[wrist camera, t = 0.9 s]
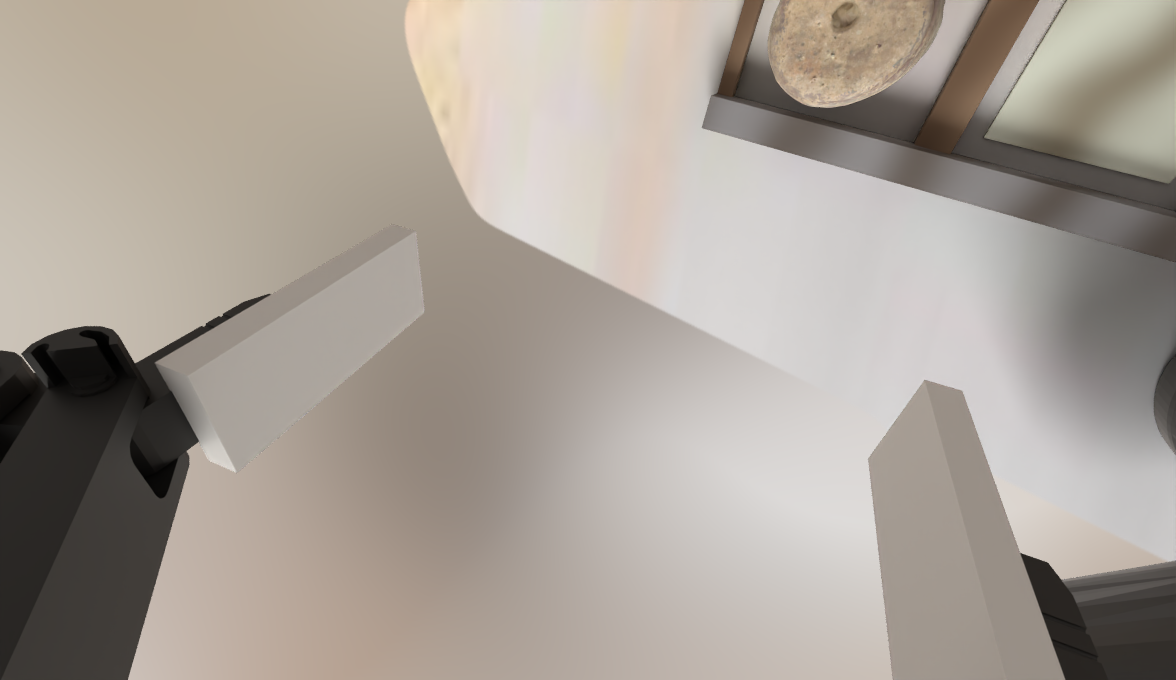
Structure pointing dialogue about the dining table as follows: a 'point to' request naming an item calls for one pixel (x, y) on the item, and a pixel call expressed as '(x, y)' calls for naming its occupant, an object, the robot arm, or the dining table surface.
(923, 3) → the carving
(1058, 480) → the dining table surface
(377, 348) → the robot arm
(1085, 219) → the rail board
